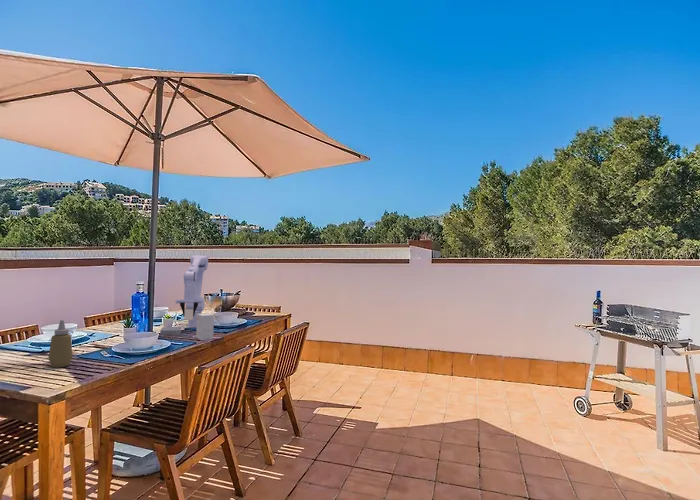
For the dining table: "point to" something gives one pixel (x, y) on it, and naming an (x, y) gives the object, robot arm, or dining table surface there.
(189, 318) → the cream block
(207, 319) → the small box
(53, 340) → the squeeze bottle
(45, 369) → the dining table surface
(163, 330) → the slate base
